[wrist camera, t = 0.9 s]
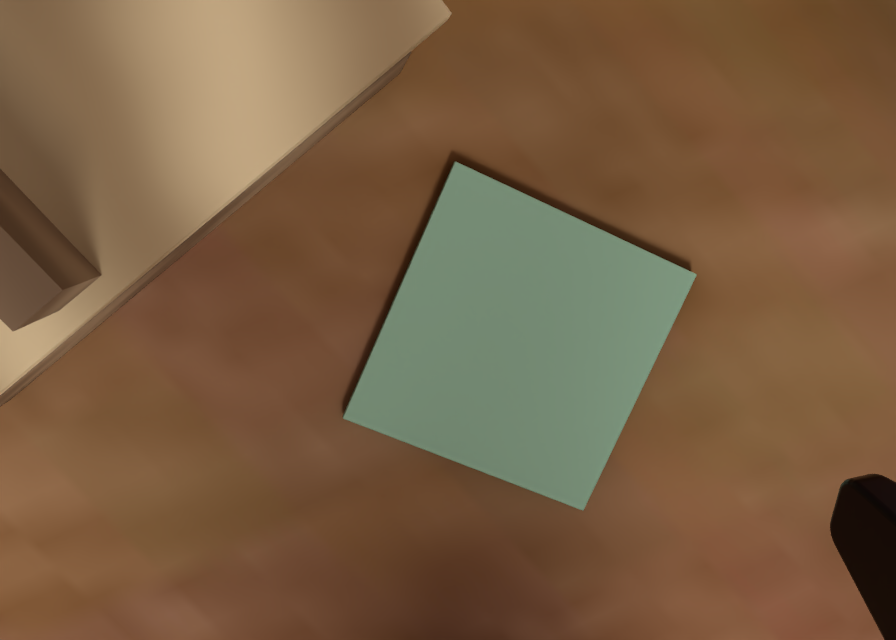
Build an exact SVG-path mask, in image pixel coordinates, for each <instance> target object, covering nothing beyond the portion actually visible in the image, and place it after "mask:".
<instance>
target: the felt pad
mask: <svg viewBox="0 0 896 640" xmlns="http://www.w3.org/2000/svg"><path fill="white" fill-rule="evenodd" d="M696 275H697V274H695V273H693V272H690V271H688V270H686V269H684V268H682V267H680V266H678V265H675V264H673V263H671V262H669V261H667V260H665V259H663V258H660V257H658V256H656V255H654V254H652V253H650V252H648V251H646V250H643V249H641V248H639V247H637V246H635V245H633V244H631V243H628V242H626V241H624V240H622V239H620V238H618V237H616V236H614V235H611V234H609V233H607V232H605V231H603V230H601V229H599V228H596V227H594V226H592V225H590V224H588V223H586V222H584V221H582V220H579V219H577V218H575V217H573V216H571V215H569V214H567V213H564V212H562V211H560V210H558V209H556V208H554V207H552V206H550V205H547V204H545V203H543V202H541V201H539V200H537V199H535V198H532V197H530V196H528V195H526V194H524V193H522V192H520V191H517V190H515V189H513V188H511V187H509V186H507V185H505V184H503V183H500V182H498V181H496V180H494V179H492V178H490V177H488V176H485V175H483V174H481V173H479V172H477V171H475V170H473V169H471V168H468V167H466V166H464V165H462V164H460V163H458V162H456V161H455V162H454V163H453V165H452V168H451V170H450V172H449V174H448V177H447V179H446V181H445V183H444V186H443V188H442V190H441V193H440V195H439V197H438V199H437V202H436V204H435V206H434V209H433V211H432V213H431V215H430V218H429V220H428V222H427V225H426V227H425V229H424V231H423V234H422V236H421V238H420V241H419V243H418V245H417V247H416V250H415V252H414V254H413V257H412V259H411V261H410V263H409V266H408V268H407V270H406V272H405V275H404V277H403V279H402V282H401V284H400V286H399V288H398V291H397V293H396V295H395V298H394V300H393V302H392V304H391V307H390V309H389V311H388V314H387V316H386V318H385V320H384V323H383V325H382V327H381V330H380V332H379V334H378V336H377V339H376V341H375V343H374V346H373V348H372V350H371V352H370V355H369V357H368V359H367V362H366V364H365V366H364V368H363V371H362V373H361V375H360V377H359V380H358V382H357V384H356V387H355V389H354V391H353V393H352V396H351V398H350V400H349V403H348V405H347V407H346V409H345V412H344V414H343V419H346V420H348V421H351V422H354V423H356V424H359V425H362V426H364V427H367V428H369V429H372V430H375V431H377V432H380V433H382V434H385V435H388V436H390V437H393V438H395V439H398V440H401V441H403V442H406V443H408V444H411V445H414V446H416V447H419V448H421V449H424V450H427V451H429V452H432V453H434V454H437V455H440V456H442V457H445V458H447V459H450V460H453V461H455V462H458V463H460V464H463V465H466V466H468V467H471V468H474V469H476V470H479V471H481V472H484V473H487V474H489V475H492V476H494V477H497V478H500V479H502V480H505V481H507V482H510V483H513V484H515V485H518V486H520V487H523V488H526V489H528V490H531V491H533V492H536V493H539V494H541V495H544V496H546V497H549V498H552V499H554V500H557V501H559V502H562V503H565V504H567V505H570V506H572V507H575V508H578V509H580V510H584V508H585V506H586V504H587V502H588V500H589V498H590V495H591V493H592V491H593V489H594V487H595V485H596V483H597V481H598V479H599V477H600V475H601V473H602V471H603V468H604V466H605V464H606V462H607V460H608V458H609V456H610V454H611V452H612V450H613V448H614V446H615V443H616V441H617V439H618V437H619V435H620V433H621V431H622V429H623V427H624V425H625V423H626V421H627V419H628V416H629V414H630V412H631V410H632V408H633V406H634V404H635V402H636V400H637V398H638V396H639V394H640V391H641V389H642V387H643V385H644V383H645V381H646V379H647V377H648V375H649V373H650V371H651V369H652V367H653V364H654V362H655V360H656V358H657V356H658V354H659V352H660V350H661V348H662V346H663V344H664V342H665V340H666V337H667V335H668V333H669V331H670V329H671V327H672V325H673V323H674V321H675V319H676V317H677V315H678V312H679V310H680V308H681V306H682V304H683V302H684V300H685V298H686V296H687V294H688V292H689V290H690V288H691V285H692V283H693V281H694V279H695V277H696Z"/></svg>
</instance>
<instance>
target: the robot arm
mask: <svg viewBox="0 0 896 640" xmlns="http://www.w3.org/2000/svg"><path fill="white" fill-rule="evenodd" d="M830 531H831V536H832V539H833V542H834V544H835V546H836V548H837V550H838V552H839V554H840V556H841V557H842V559H843V561H844V563H845V565H846V567H847V569H848V571H849V573H850V575H851V577H852V578H853V580H854V582H855V584H856V586H857V588H858V590H859V592H860V594H861V596H862V598H863V599H864V601H865V603H866V605H867V607H868V609H869V611H870V613H871V615H872V617H873V619H874V620H875V622H876V624H877V626H878V628H879V630H880V632H881V634H882V636H883V638H884V640H896V482H894V481H892V480H890V479H889V478H887V477H884V476H882V475H879V474H868V475H863V476H859V477H854V478H850V479H847V480H845V481H844V482H843V483H842V484H841V487H840V489H839V493H838V497H837V500H836V504H835V507H834V511H833V514H832V518H831V522H830Z"/></svg>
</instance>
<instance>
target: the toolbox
mask: <svg viewBox="0 0 896 640" xmlns="http://www.w3.org/2000/svg"><path fill="white" fill-rule="evenodd" d="M410 54H411V52H409V53H408V54H407V55H406V56H405V57H403V58H402V59H401V60H400V61H399V62H397V63H396V64H395V65H394V66H393V67H391V68H390V69H389V70H388V71H387V72H386V73H384V74H383V75H382V76H381V77H380V78H378V79H377V80H376V81H375V82H374V83H372V84H371V85H370V86H369V87H368V88H366V89H365V90H364V91H363V92H362V93H360V94H359V95H358V96H357V97H356V98H354V99H353V100H352V101H351V102H350V103H349V104H347V105H346V106H345V107H344V108H343V109H341V110H340V111H339V112H338V113H337V114H335V115H334V116H333V117H332V118H331V119H329V120H328V121H327V122H326V123H325V124H323V125H322V126H321V127H320V128H319V129H317V130H316V131H315V132H314V133H313V134H312V135H310V136H309V137H308V138H307V139H306V140H304V141H303V142H302V143H301V144H300V145H298V146H297V147H296V148H295V149H294V150H292V151H291V152H290V153H289V154H288V155H286V156H285V157H284V158H283V159H282V160H280V161H279V162H278V163H277V164H276V165H275V166H273V167H272V168H271V169H270V170H269V171H267V172H266V173H265V174H264V175H263V176H261V177H260V178H259V179H258V180H257V181H255V182H254V183H253V184H252V185H251V186H249V187H248V188H247V189H246V190H245V191H243V192H242V193H241V194H240V195H239V196H238V197H236V198H235V199H234V200H233V201H232V202H230V203H229V204H228V205H227V206H226V207H224V208H223V209H222V210H221V211H220V212H218V213H217V214H216V215H215V216H214V217H212V218H211V219H210V220H209V221H208V222H206V223H205V224H204V225H203V226H202V227H201V228H199V229H198V230H197V231H196V232H195V233H193V234H192V235H191V236H190V237H189V238H187V239H186V240H185V241H184V242H183V243H181V244H180V245H179V246H178V247H177V248H175V249H174V250H173V251H172V252H171V253H169V254H168V255H167V256H166V257H165V258H164V259H162V260H161V261H160V262H159V263H158V264H156V265H155V266H154V267H153V268H152V269H150V270H149V271H148V272H147V273H146V274H144V275H143V276H142V277H141V278H140V279H138V280H137V281H136V282H135V283H134V284H133V285H131V286H130V287H129V288H128V289H127V290H125V291H124V292H123V293H122V294H121V295H119V296H118V297H117V298H116V299H115V300H113V301H112V302H111V303H110V304H109V305H107V306H106V307H105V308H104V309H103V310H101V311H100V312H99V313H98V314H97V315H96V316H94V317H93V318H92V319H91V320H90V321H88V322H87V323H86V324H85V325H84V326H82V327H81V328H80V329H79V330H78V331H76V332H75V333H74V334H73V335H72V336H70V337H69V338H68V339H67V340H66V341H64V342H63V343H62V344H61V345H60V346H59V347H57V348H56V349H55V350H54V351H53V352H51V353H50V354H49V355H48V356H47V357H45V358H44V359H43V360H42V361H41V362H39V363H38V364H37V365H36V366H35V367H33V368H32V369H31V370H30V371H29V372H27V373H26V374H25V375H24V376H23V377H22V378H20V379H19V380H18V381H17V382H16V383H14V384H13V385H12V386H11V387H10V388H8V389H7V390H6V391H5V392H4V393H2V394H1V395H0V406H2V405H3V404H5V403H6V402H8V401H9V400H11V399H12V398H13V397H14V396H15V395H17V394H18V393H19V392H20V391H21V390H23V389H24V388H25V387H26V386H27V385H28V384H30V383H31V382H32V381H33V380H34V379H36V378H37V377H38V376H39V375H40V374H42V373H43V372H44V371H45V370H46V369H48V368H49V367H50V366H51V365H52V364H54V363H55V362H56V361H57V360H58V359H60V358H61V357H62V356H63V355H64V354H65V353H67V352H68V351H69V350H70V349H71V348H73V347H74V346H75V345H76V344H77V343H79V342H80V341H81V340H82V339H83V338H85V337H86V336H87V335H88V334H89V333H91V332H92V331H93V330H94V329H95V328H97V327H98V326H99V325H100V324H101V323H103V322H104V321H105V320H106V319H107V318H108V317H110V316H111V315H112V314H113V313H114V312H116V311H117V310H118V309H119V308H120V307H122V306H123V305H124V304H125V303H126V302H128V301H129V300H130V299H131V298H132V297H134V296H135V295H136V294H137V293H138V292H140V291H141V290H142V289H143V288H144V287H145V286H147V285H148V284H149V283H150V282H151V281H153V280H154V279H155V278H156V277H157V276H159V275H160V274H161V273H162V272H163V271H165V270H166V269H167V268H168V267H169V266H171V265H172V264H173V263H174V262H175V261H177V260H178V259H179V258H180V257H181V256H182V255H184V254H185V253H186V252H187V251H188V250H190V249H191V248H192V247H193V246H194V245H196V244H197V243H198V242H199V241H200V240H202V239H203V238H204V237H205V236H206V235H208V234H209V233H210V232H211V231H212V230H214V229H215V228H216V227H217V226H218V225H219V224H221V223H222V222H223V221H224V220H225V219H227V218H228V217H229V216H230V215H231V214H233V213H234V212H235V211H236V210H237V209H239V208H240V207H241V206H242V205H243V204H245V203H246V202H247V201H248V200H249V199H251V198H252V197H253V196H254V195H255V194H256V193H258V192H259V191H260V190H261V189H262V188H264V187H265V186H266V185H267V184H268V183H270V182H271V181H272V180H273V179H274V178H276V177H277V176H278V175H279V174H280V173H282V172H283V171H284V170H285V169H286V168H288V167H289V166H290V165H291V164H292V163H293V162H295V161H296V160H297V159H298V158H299V157H301V156H302V155H303V154H304V153H305V152H307V151H308V150H309V149H310V148H311V147H313V146H314V145H315V144H316V143H317V142H319V141H320V140H321V139H322V138H323V137H325V136H326V135H327V134H328V133H329V132H330V131H332V130H333V129H334V128H335V127H336V126H338V125H339V124H340V123H341V122H342V121H344V120H345V119H346V118H347V117H348V116H350V115H351V114H352V113H353V112H354V111H356V110H357V109H358V108H359V107H360V106H362V105H363V104H364V103H365V102H366V101H367V100H369V99H370V98H371V97H372V96H373V95H375V94H376V93H377V92H378V91H379V90H381V89H382V88H383V87H384V86H385V85H387V84H388V83H389V82H390V81H391V80H393V79H394V78H395V77H396V76H397V75H399V74H400V72H401V70H402V69H403V67H404V65H405V63H406V61H407V59H408V58H409V56H410Z"/></svg>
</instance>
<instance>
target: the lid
mask: <svg viewBox="0 0 896 640" xmlns="http://www.w3.org/2000/svg"><path fill="white" fill-rule="evenodd" d="M451 14H452V13H451V12H450V10H449V9H448V8H447V6H446V5H445V4H444V2H443V1H442V0H0V395H1V394H2V393H4V392H5V391H6V390H7V389H8V388H10V387H11V386H12V385H13V384H14V383H16V382H17V381H18V380H19V379H20V378H22V377H23V376H24V375H25V374H26V373H27V372H29V371H30V370H31V369H32V368H33V367H35V366H36V365H37V364H38V363H39V362H41V361H42V360H43V359H44V358H45V357H47V356H48V355H49V354H50V353H51V352H53V351H54V350H55V349H56V348H57V347H59V346H60V345H61V344H62V343H63V342H64V341H66V340H67V339H68V338H69V337H70V336H72V335H73V334H74V333H75V332H76V331H78V330H79V329H80V328H81V327H82V326H84V325H85V324H86V323H87V322H88V321H90V320H91V319H92V318H93V317H94V316H96V315H97V314H98V313H99V312H100V311H101V310H103V309H104V308H105V307H106V306H107V305H109V304H110V303H111V302H112V301H113V300H115V299H116V298H117V297H118V296H119V295H121V294H122V293H123V292H124V291H125V290H127V289H128V288H129V287H130V286H131V285H133V284H134V283H135V282H136V281H137V280H138V279H140V278H141V277H142V276H143V275H144V274H146V273H147V272H148V271H149V270H150V269H152V268H153V267H154V266H155V265H156V264H158V263H159V262H160V261H161V260H162V259H164V258H165V257H166V256H167V255H168V254H169V253H171V252H172V251H173V250H174V249H175V248H177V247H178V246H179V245H180V244H181V243H183V242H184V241H185V240H186V239H187V238H189V237H190V236H191V235H192V234H193V233H195V232H196V231H197V230H198V229H199V228H201V227H202V226H203V225H204V224H205V223H206V222H208V221H209V220H210V219H211V218H212V217H214V216H215V215H216V214H217V213H218V212H220V211H221V210H222V209H223V208H224V207H226V206H227V205H228V204H229V203H230V202H232V201H233V200H234V199H235V198H236V197H238V196H239V195H240V194H241V193H242V192H243V191H245V190H246V189H247V188H248V187H249V186H251V185H252V184H253V183H254V182H255V181H257V180H258V179H259V178H260V177H261V176H263V175H264V174H265V173H266V172H267V171H269V170H270V169H271V168H272V167H273V166H275V165H276V164H277V163H278V162H279V161H280V160H282V159H283V158H284V157H285V156H286V155H288V154H289V153H290V152H291V151H292V150H294V149H295V148H296V147H297V146H298V145H300V144H301V143H302V142H303V141H304V140H306V139H307V138H308V137H309V136H310V135H312V134H313V133H314V132H315V131H316V130H317V129H319V128H320V127H321V126H322V125H323V124H325V123H326V122H327V121H328V120H329V119H331V118H332V117H333V116H334V115H335V114H337V113H338V112H339V111H340V110H341V109H343V108H344V107H345V106H346V105H347V104H349V103H350V102H351V101H352V100H353V99H354V98H356V97H357V96H358V95H359V94H360V93H362V92H363V91H364V90H365V89H366V88H368V87H369V86H370V85H371V84H372V83H374V82H375V81H376V80H377V79H378V78H380V77H381V76H382V75H383V74H384V73H386V72H387V71H388V70H389V69H390V68H391V67H393V66H394V65H395V64H396V63H397V62H399V61H400V60H401V59H402V58H403V57H405V56H406V55H407V54H408V53H409V52H411V51H412V50H413V49H414V48H415V47H417V46H418V45H419V44H420V43H421V42H423V41H424V40H425V39H426V38H427V37H428V36H430V35H431V34H432V33H433V32H434V31H436V30H437V29H438V28H439V27H440V26H442V25H443V24H444V23H445V22H446V21H447V20H448V19H449V17H450V15H451Z"/></svg>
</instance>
